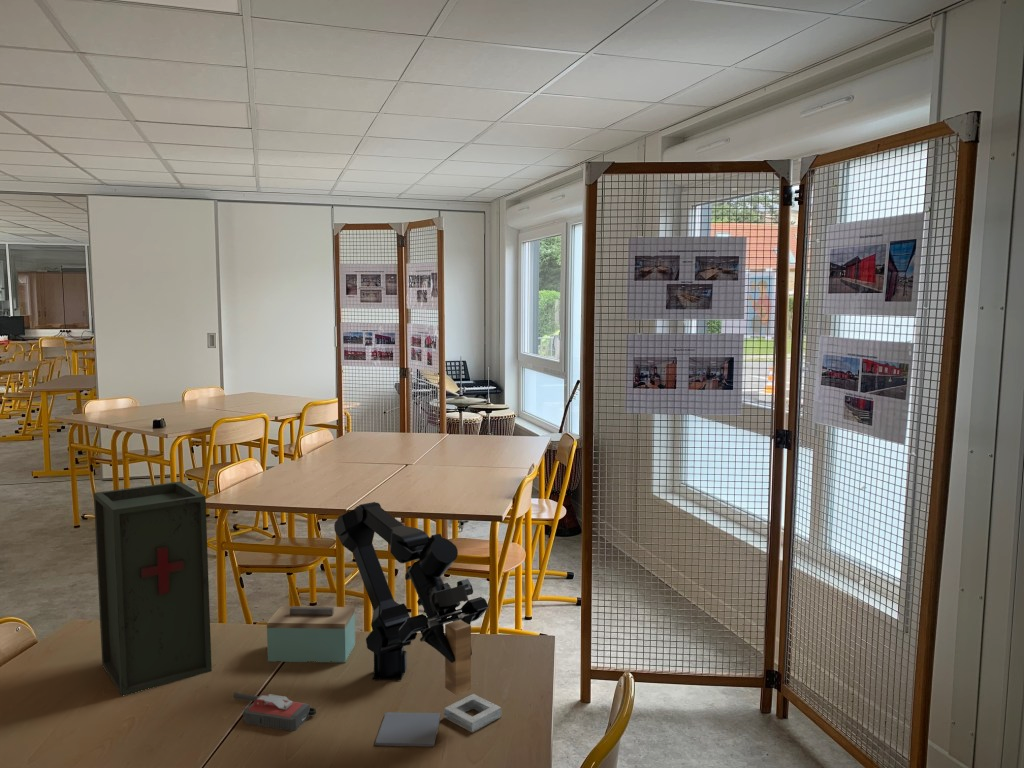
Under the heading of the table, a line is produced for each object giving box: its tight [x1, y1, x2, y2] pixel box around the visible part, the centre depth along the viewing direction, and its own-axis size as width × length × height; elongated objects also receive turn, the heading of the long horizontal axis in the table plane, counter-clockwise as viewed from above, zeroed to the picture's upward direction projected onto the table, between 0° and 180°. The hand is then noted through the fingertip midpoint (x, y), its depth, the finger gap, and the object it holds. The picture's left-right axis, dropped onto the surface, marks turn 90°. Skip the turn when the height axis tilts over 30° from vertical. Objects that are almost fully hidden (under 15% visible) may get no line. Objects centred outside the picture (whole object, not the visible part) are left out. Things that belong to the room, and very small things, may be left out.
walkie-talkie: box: [232, 692, 317, 732], centre depth 155 cm, size 9×4×20 cm
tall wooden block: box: [444, 620, 472, 696], centre depth 152 cm, size 4×4×13 cm
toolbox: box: [266, 605, 356, 663], centre depth 183 cm, size 18×10×11 cm, turn 89°
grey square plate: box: [374, 711, 441, 747], centre depth 150 cm, size 11×11×1 cm
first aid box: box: [93, 481, 213, 697], centre depth 173 cm, size 18×18×40 cm
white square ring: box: [443, 693, 502, 734], centre depth 154 cm, size 8×8×2 cm
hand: (462, 658), depth 150 cm, fingers closed on tall wooden block, 4 cm apart
